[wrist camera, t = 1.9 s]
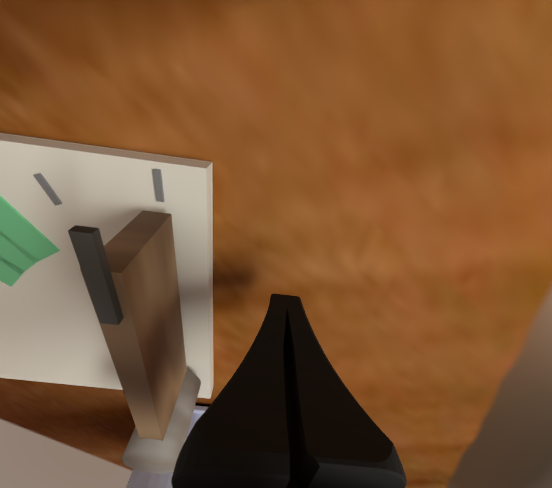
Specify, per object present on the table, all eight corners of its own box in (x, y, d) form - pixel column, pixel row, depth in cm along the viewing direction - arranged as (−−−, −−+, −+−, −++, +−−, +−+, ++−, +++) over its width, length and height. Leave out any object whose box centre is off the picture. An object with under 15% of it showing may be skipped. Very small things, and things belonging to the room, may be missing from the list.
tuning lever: (201, 394, 19) (179, 475, 15) (159, 390, 19) (127, 471, 15) (190, 182, 10) (133, 246, 6) (113, 172, 10) (8, 230, 6)
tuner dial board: (213, 385, 21) (210, 399, 20) (-19, 362, 20) (-33, 375, 19) (212, 161, 11) (206, 169, 10) (-231, 101, 11) (-280, 103, 10)
